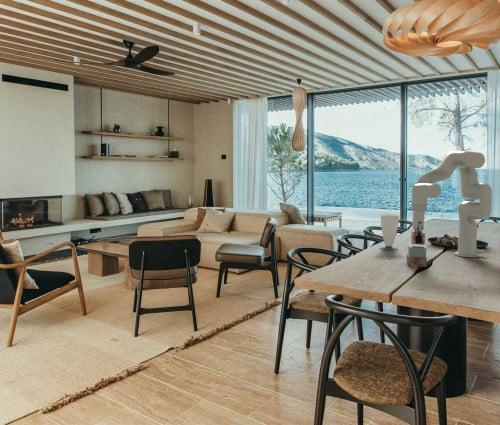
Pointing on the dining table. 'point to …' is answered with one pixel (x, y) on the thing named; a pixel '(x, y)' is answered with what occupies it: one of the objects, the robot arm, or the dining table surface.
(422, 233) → the terracotta cube
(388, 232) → the cup
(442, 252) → the dining table surface
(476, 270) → the dining table surface
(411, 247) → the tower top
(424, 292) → the dining table surface
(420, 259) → the tower base
